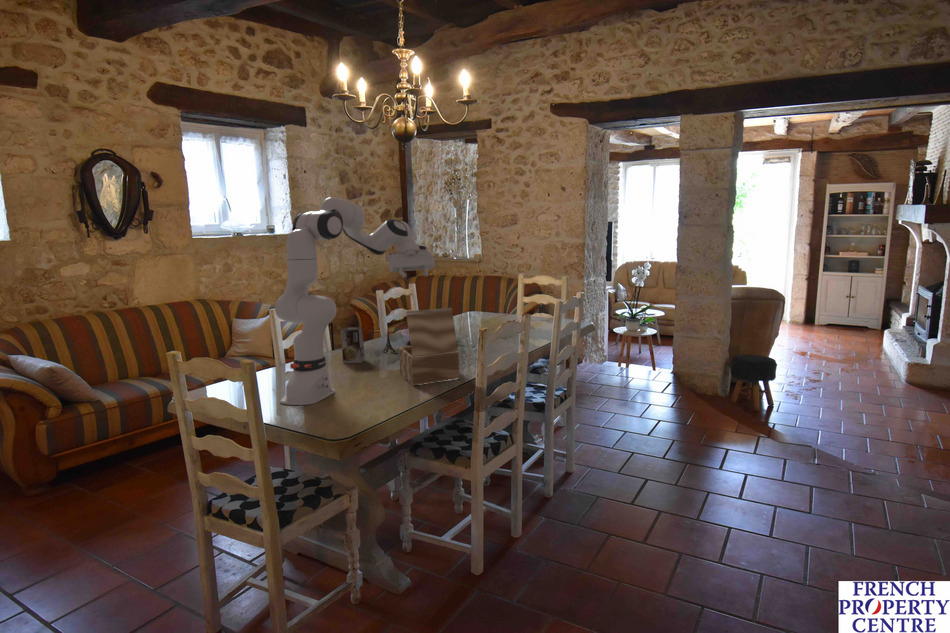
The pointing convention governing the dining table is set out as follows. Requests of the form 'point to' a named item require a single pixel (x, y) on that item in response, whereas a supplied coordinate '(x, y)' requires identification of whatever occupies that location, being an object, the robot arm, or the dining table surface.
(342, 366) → the dining table surface
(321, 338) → the robot arm
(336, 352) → the dining table surface
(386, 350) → the eiffel tower figurine
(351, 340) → the coffee box
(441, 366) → the carton
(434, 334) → the carton flap
